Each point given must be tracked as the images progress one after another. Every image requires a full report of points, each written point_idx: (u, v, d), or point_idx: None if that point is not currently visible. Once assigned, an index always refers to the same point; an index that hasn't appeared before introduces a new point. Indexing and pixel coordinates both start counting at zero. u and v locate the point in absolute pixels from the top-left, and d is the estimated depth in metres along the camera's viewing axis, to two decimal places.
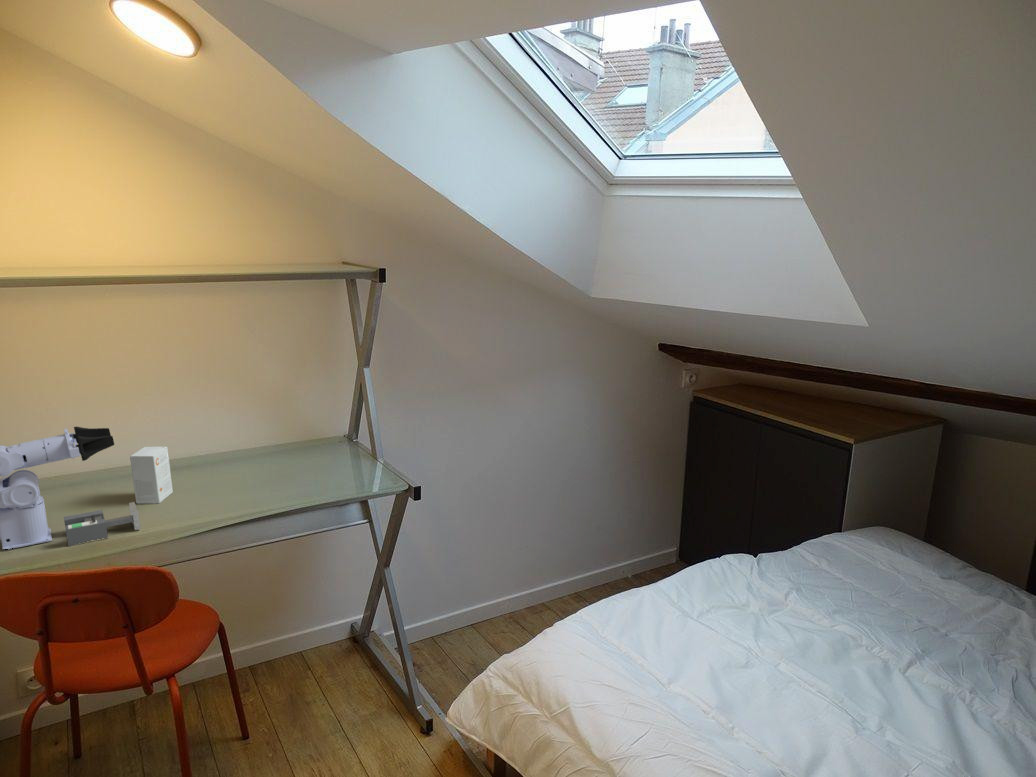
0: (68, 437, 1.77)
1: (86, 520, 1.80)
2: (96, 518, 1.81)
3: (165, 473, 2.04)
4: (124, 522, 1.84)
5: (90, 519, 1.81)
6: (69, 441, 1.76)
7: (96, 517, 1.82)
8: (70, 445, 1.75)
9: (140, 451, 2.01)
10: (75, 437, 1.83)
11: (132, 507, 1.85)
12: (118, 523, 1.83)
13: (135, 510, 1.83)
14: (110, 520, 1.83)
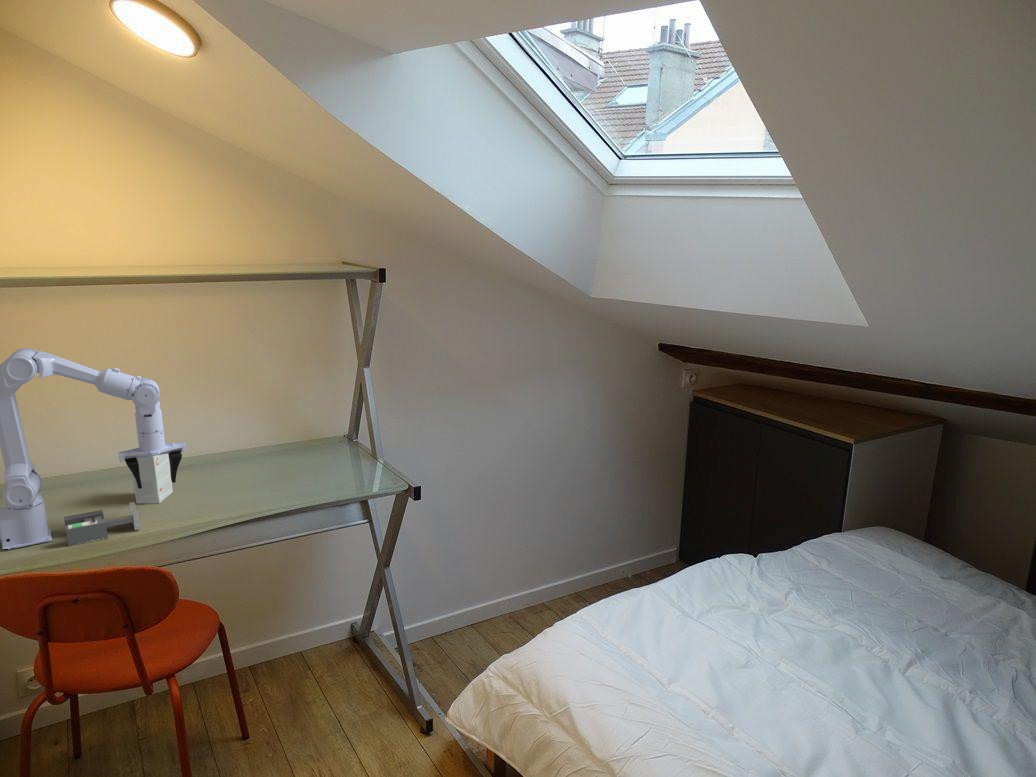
0: (144, 454, 1.82)
1: (86, 520, 1.80)
2: (96, 518, 1.81)
3: (165, 473, 2.04)
4: (124, 522, 1.84)
5: (90, 519, 1.81)
6: (137, 454, 1.82)
7: (96, 517, 1.82)
8: (129, 455, 1.81)
9: None
10: (171, 453, 1.87)
11: (132, 507, 1.85)
12: (118, 523, 1.83)
13: (135, 510, 1.83)
14: (110, 520, 1.83)
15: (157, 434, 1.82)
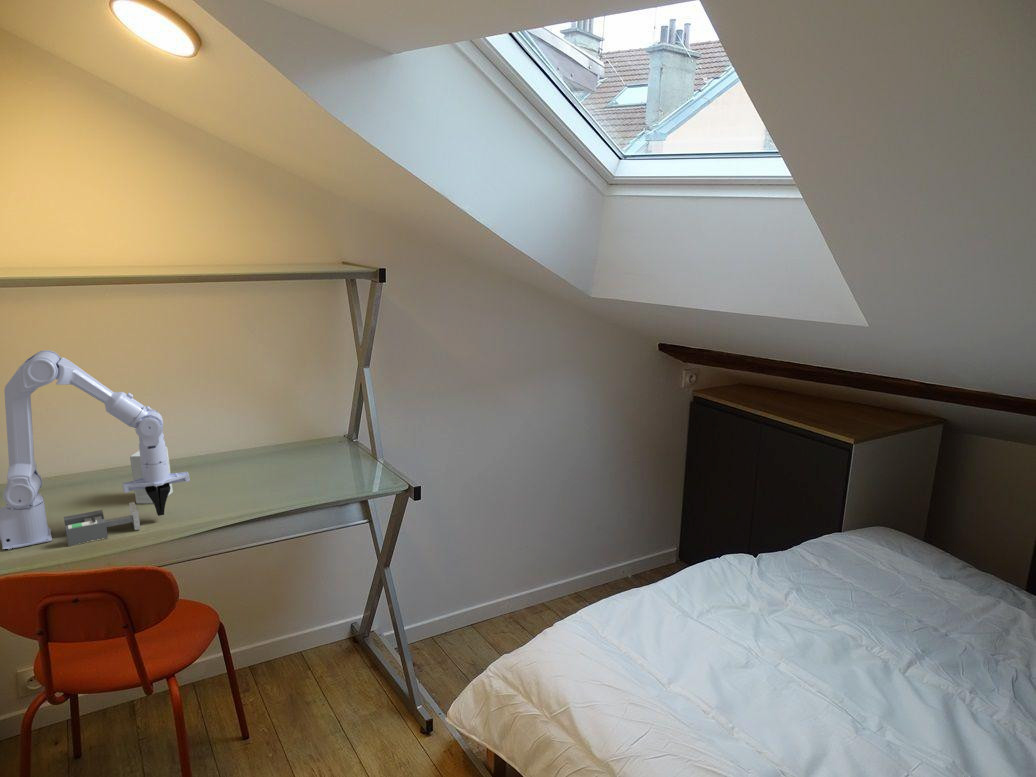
0: (148, 485, 1.84)
1: (86, 520, 1.80)
2: (96, 518, 1.81)
3: None
4: (124, 522, 1.84)
5: (90, 519, 1.81)
6: (141, 485, 1.83)
7: (96, 517, 1.82)
8: (133, 486, 1.83)
9: None
10: None
11: (132, 507, 1.85)
12: (118, 523, 1.83)
13: (135, 510, 1.83)
14: (110, 520, 1.83)
15: (161, 465, 1.84)
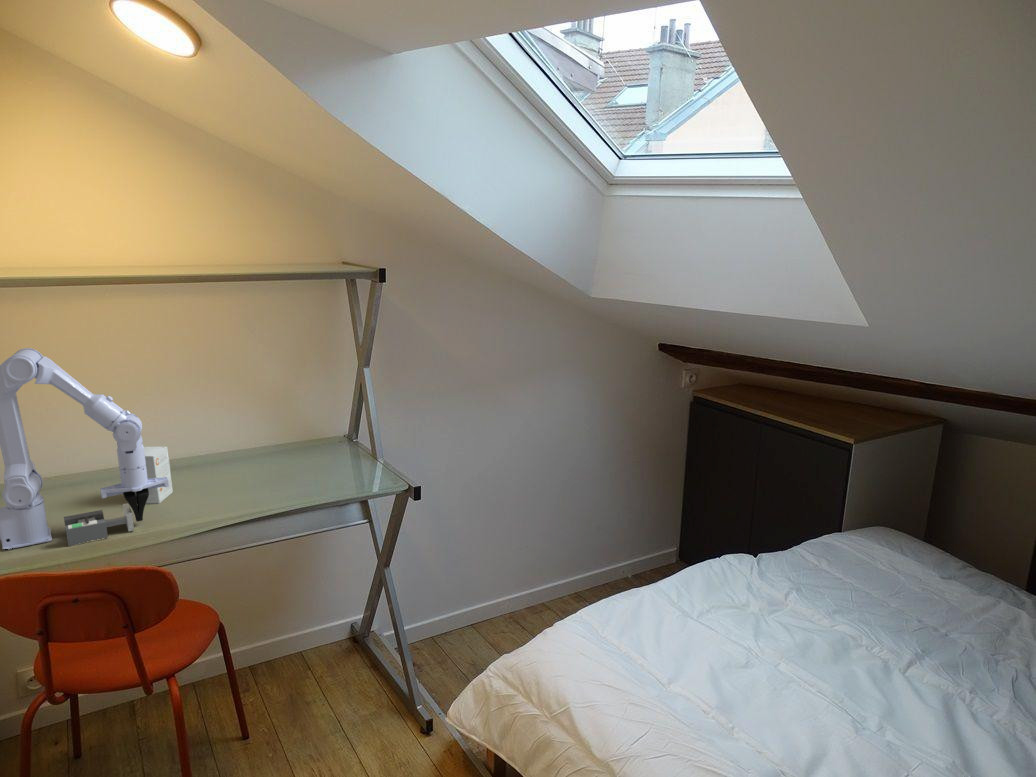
0: (126, 490, 1.81)
1: (79, 521, 1.79)
2: (89, 519, 1.81)
3: (165, 473, 2.04)
4: (118, 523, 1.83)
5: (83, 520, 1.80)
6: (118, 491, 1.81)
7: (89, 518, 1.81)
8: (111, 491, 1.81)
9: None
10: None
11: (126, 508, 1.84)
12: (112, 524, 1.83)
13: (129, 511, 1.82)
14: None
15: (139, 470, 1.82)
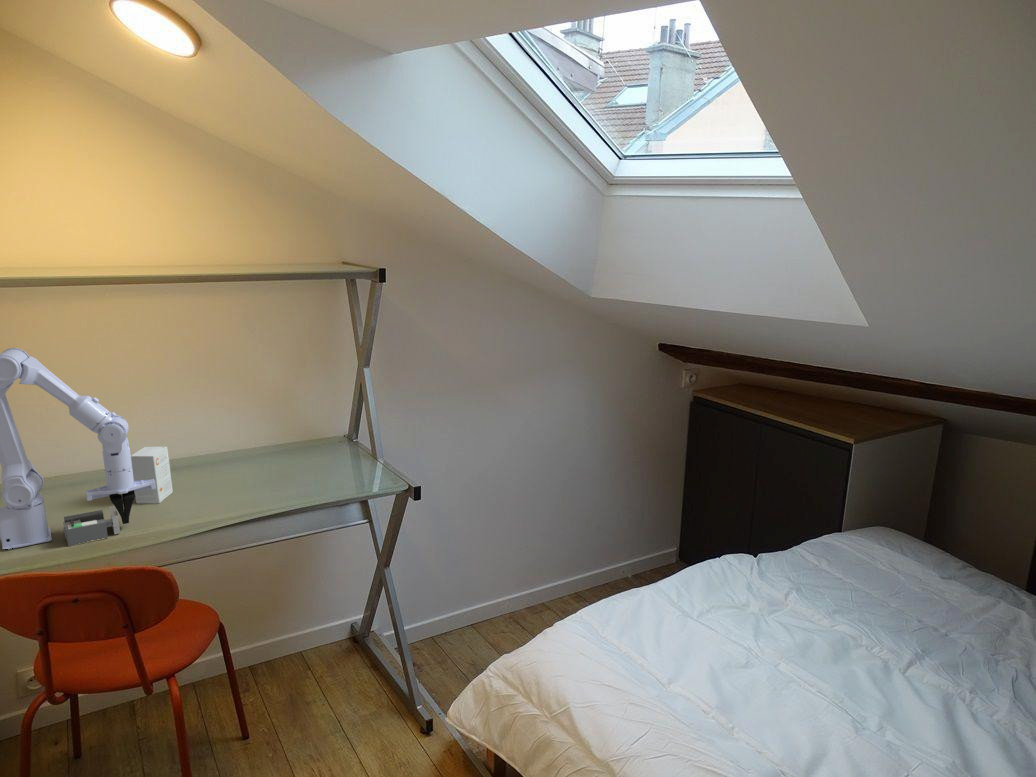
0: (112, 492, 1.80)
1: (65, 524, 1.78)
2: (75, 522, 1.79)
3: (165, 473, 2.04)
4: None
5: (69, 523, 1.78)
6: (104, 493, 1.79)
7: (75, 521, 1.80)
8: (97, 494, 1.79)
9: (140, 451, 2.01)
10: None
11: (112, 511, 1.83)
12: None
13: (115, 514, 1.81)
14: None
15: (125, 472, 1.80)
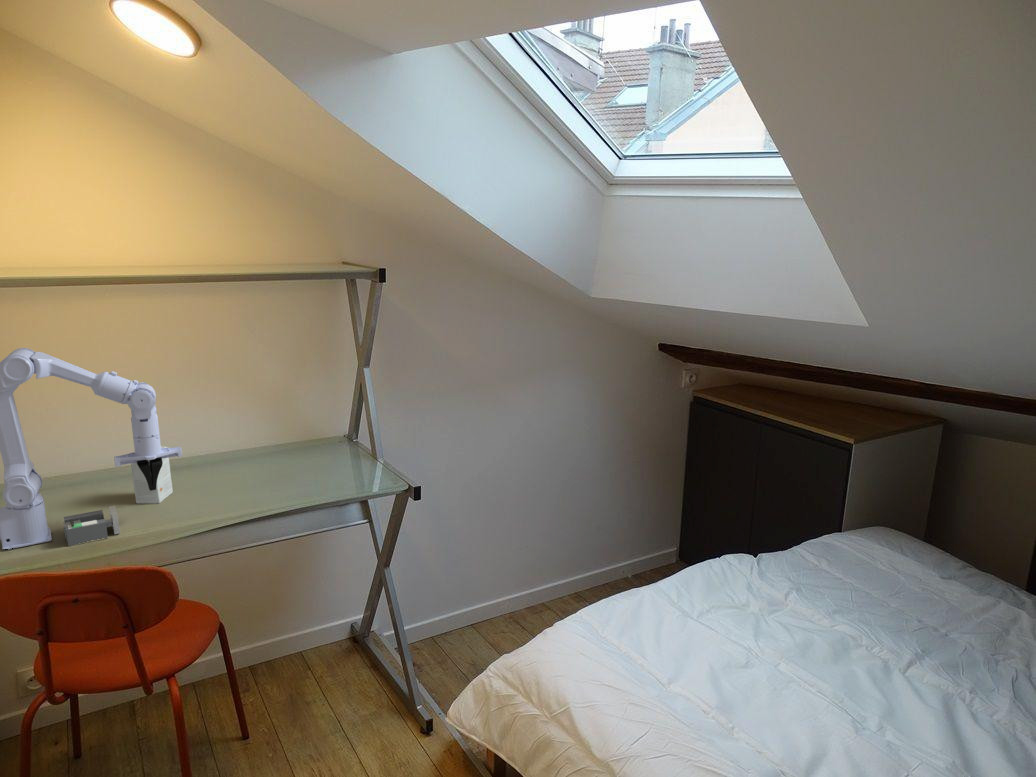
0: (140, 459, 1.82)
1: (65, 524, 1.78)
2: (75, 522, 1.79)
3: (165, 473, 2.04)
4: None
5: (69, 523, 1.78)
6: (132, 459, 1.81)
7: (75, 521, 1.80)
8: (125, 459, 1.81)
9: None
10: None
11: (112, 511, 1.83)
12: None
13: (115, 514, 1.81)
14: None
15: (153, 439, 1.82)
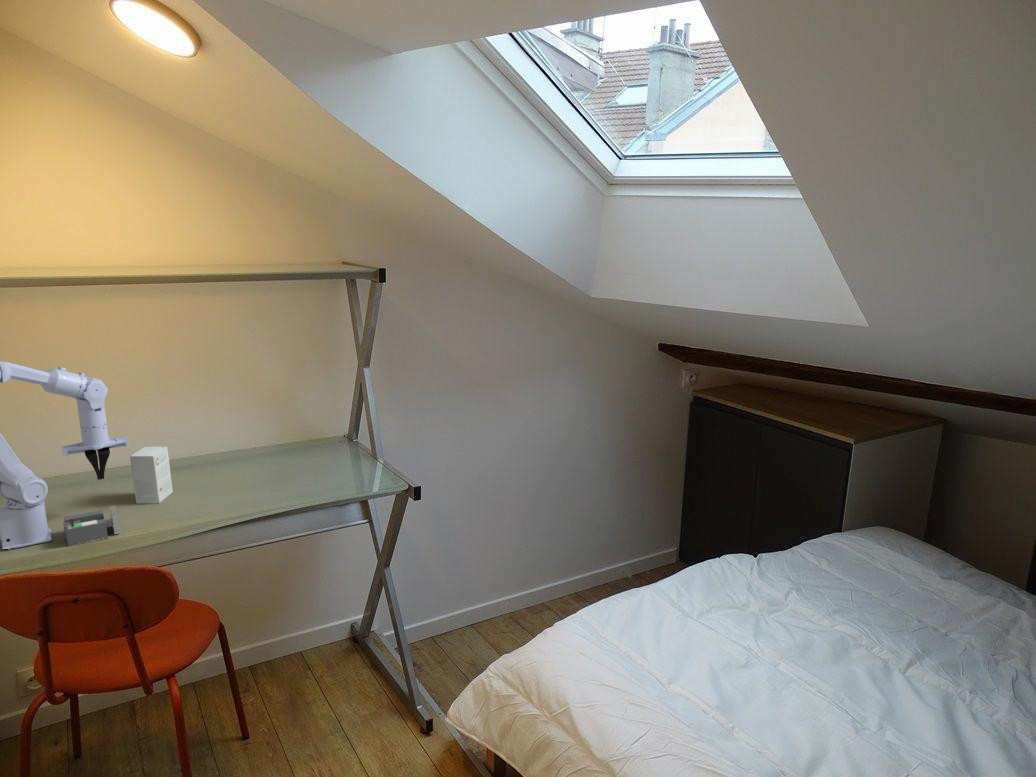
0: (87, 448, 1.86)
1: (65, 524, 1.78)
2: (75, 522, 1.79)
3: (165, 473, 2.04)
4: None
5: (69, 523, 1.78)
6: (79, 449, 1.86)
7: (75, 521, 1.80)
8: (72, 449, 1.86)
9: (140, 451, 2.01)
10: (114, 447, 1.91)
11: (112, 511, 1.83)
12: None
13: (115, 514, 1.81)
14: None
15: (100, 429, 1.87)
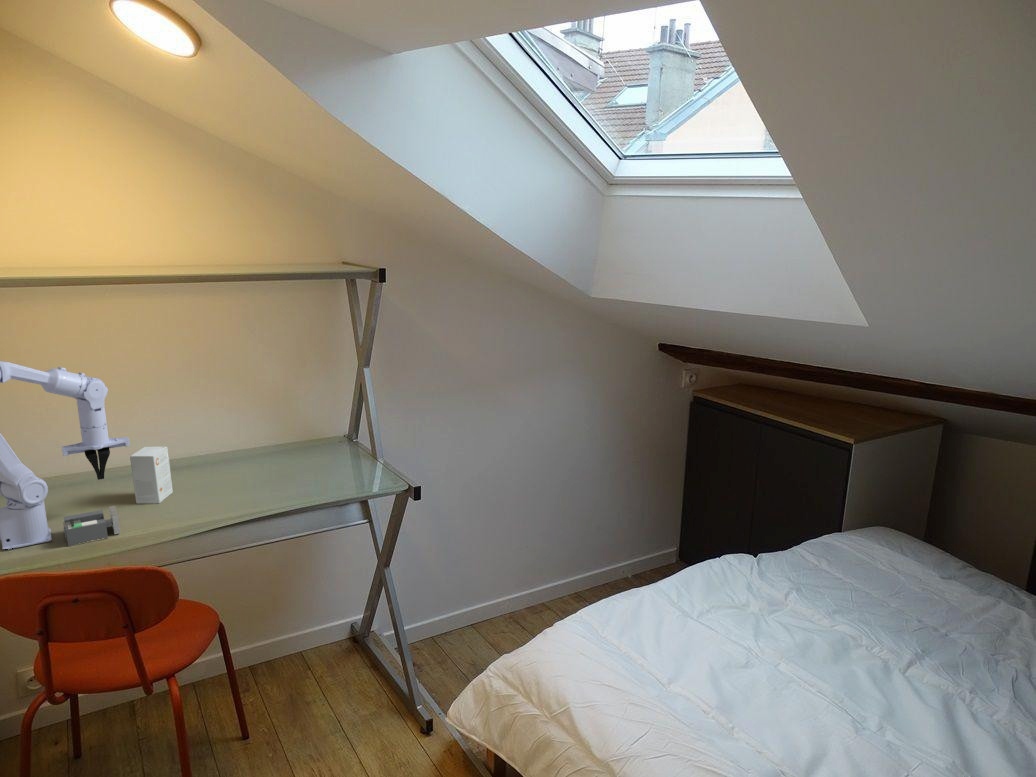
0: (87, 448, 1.86)
1: (65, 524, 1.78)
2: (75, 522, 1.79)
3: (165, 473, 2.04)
4: None
5: (69, 523, 1.78)
6: (79, 449, 1.86)
7: (75, 521, 1.80)
8: (72, 449, 1.86)
9: (140, 451, 2.01)
10: (114, 447, 1.91)
11: (112, 511, 1.83)
12: None
13: (115, 514, 1.81)
14: None
15: (100, 429, 1.87)
